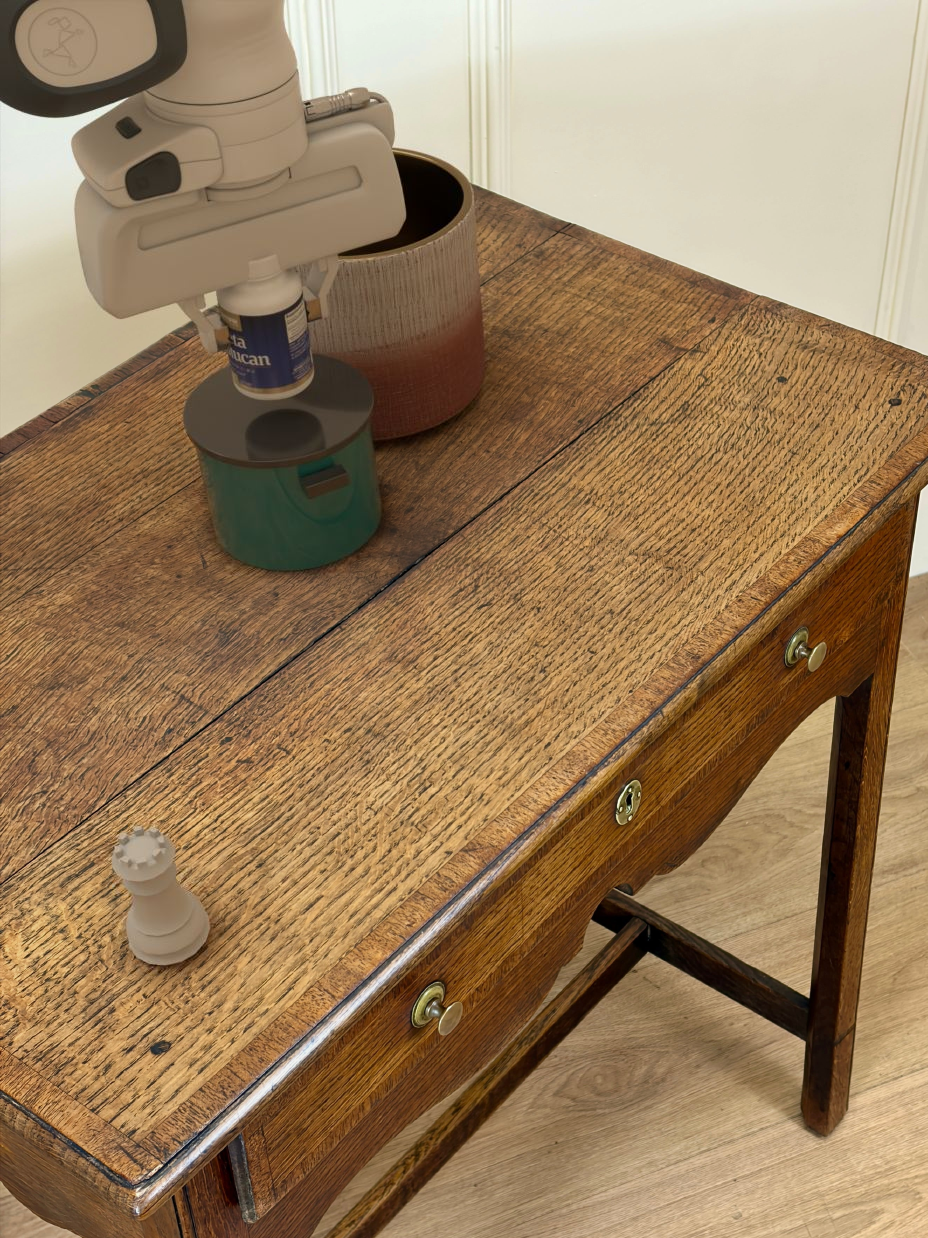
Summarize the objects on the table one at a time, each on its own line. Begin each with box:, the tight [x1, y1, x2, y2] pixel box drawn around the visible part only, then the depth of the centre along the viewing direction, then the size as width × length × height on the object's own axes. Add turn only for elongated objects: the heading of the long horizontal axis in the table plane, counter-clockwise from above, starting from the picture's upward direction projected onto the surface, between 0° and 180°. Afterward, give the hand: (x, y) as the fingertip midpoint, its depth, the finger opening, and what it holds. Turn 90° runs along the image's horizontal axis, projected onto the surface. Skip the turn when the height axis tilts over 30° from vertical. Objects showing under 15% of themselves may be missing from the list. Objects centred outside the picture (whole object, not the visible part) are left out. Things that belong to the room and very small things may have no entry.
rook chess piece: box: [110, 824, 211, 966], centre depth 78 cm, size 4×4×8 cm
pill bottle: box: [215, 254, 314, 400], centre depth 95 cm, size 5×5×10 cm
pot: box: [182, 354, 383, 572], centre depth 103 cm, size 13×15×10 cm
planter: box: [292, 146, 486, 443], centre depth 112 cm, size 18×18×16 cm
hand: (265, 331), depth 96 cm, fingers closed on pill bottle, 5 cm apart
